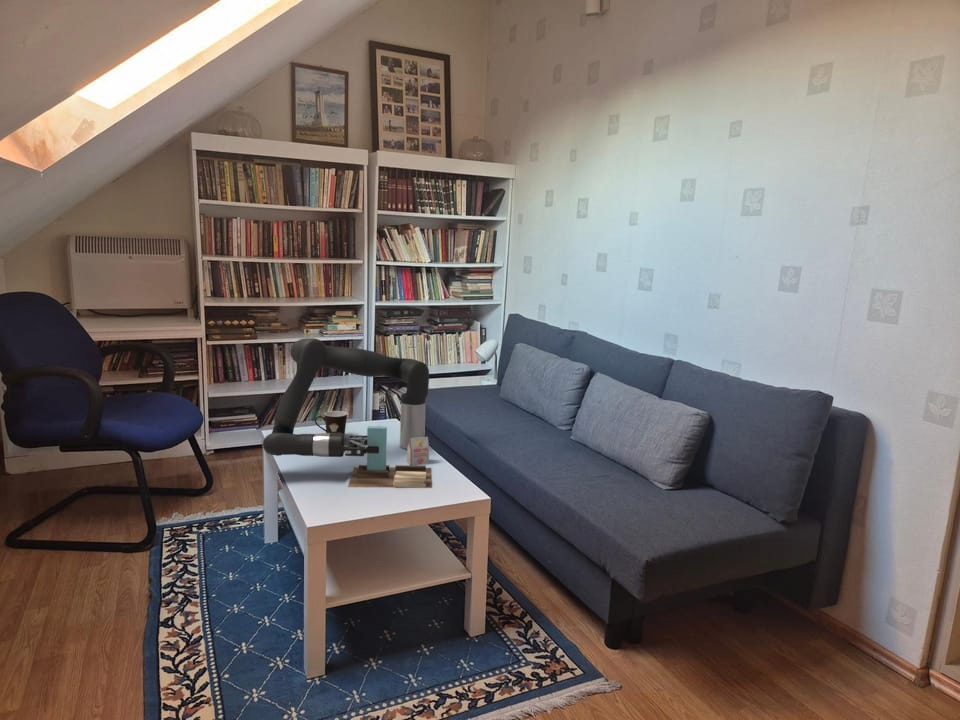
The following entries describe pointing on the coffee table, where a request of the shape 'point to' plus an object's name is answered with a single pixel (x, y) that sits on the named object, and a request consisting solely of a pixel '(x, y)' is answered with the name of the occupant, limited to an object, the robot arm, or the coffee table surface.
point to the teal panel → (379, 438)
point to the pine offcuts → (409, 479)
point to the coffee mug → (334, 422)
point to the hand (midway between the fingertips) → (379, 445)
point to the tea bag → (418, 451)
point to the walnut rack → (385, 476)
